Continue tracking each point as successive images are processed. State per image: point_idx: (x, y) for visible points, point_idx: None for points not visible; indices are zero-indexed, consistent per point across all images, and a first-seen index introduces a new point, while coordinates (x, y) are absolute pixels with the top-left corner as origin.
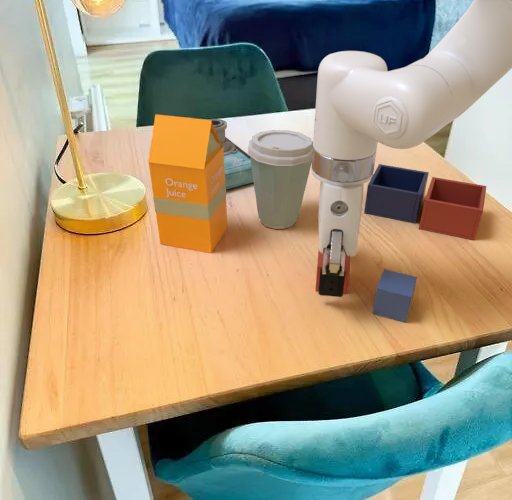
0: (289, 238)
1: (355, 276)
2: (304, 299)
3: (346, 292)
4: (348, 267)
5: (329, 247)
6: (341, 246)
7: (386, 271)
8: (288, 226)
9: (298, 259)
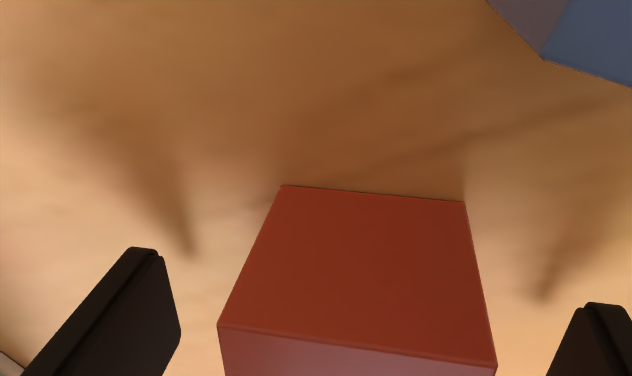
0: None
1: (287, 139)
2: None
3: (466, 212)
4: (474, 371)
5: (155, 343)
6: (133, 304)
7: (610, 24)
8: (11, 366)
9: (210, 355)
